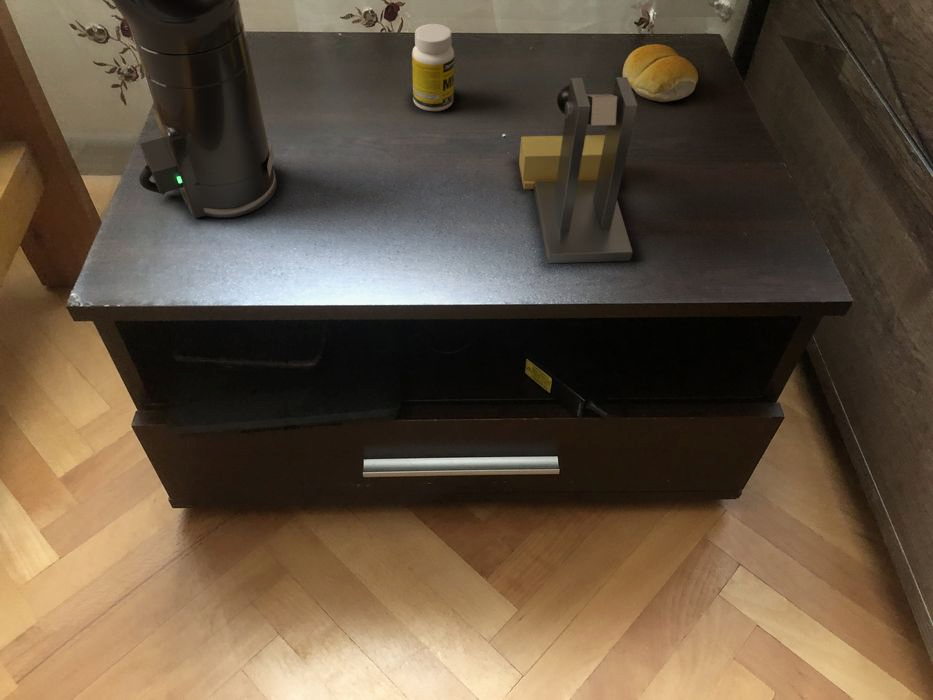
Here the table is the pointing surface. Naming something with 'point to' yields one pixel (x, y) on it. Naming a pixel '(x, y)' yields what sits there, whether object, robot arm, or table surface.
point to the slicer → (587, 186)
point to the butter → (556, 158)
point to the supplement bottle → (433, 67)
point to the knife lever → (594, 107)
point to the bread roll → (660, 73)
